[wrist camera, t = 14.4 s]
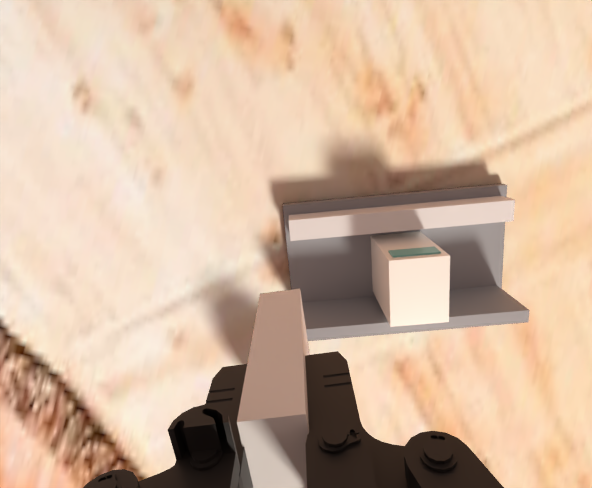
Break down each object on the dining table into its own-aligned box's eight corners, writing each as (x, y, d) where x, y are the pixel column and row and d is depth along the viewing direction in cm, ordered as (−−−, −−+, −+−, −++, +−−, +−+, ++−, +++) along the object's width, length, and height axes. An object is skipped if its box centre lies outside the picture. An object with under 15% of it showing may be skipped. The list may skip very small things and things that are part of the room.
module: (370, 234, 40) (388, 259, 33) (420, 230, 40) (450, 253, 33) (372, 290, 42) (390, 326, 34) (420, 286, 42) (448, 322, 34)
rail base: (282, 203, 41) (280, 218, 34) (501, 183, 40) (543, 194, 33) (293, 311, 44) (294, 345, 37) (496, 294, 43) (533, 324, 37)
